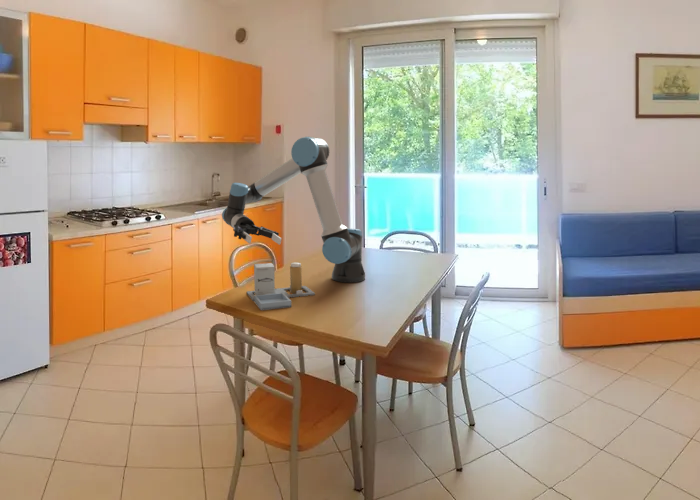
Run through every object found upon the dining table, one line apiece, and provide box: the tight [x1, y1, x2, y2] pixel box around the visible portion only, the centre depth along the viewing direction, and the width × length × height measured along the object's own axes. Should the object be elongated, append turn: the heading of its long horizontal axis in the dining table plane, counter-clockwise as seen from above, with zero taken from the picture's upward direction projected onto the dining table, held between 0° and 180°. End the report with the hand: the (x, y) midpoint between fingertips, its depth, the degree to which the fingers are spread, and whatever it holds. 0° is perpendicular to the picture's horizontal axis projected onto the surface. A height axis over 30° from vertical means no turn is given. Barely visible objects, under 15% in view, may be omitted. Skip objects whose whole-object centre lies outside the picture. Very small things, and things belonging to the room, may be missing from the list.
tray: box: [253, 293, 292, 311], centre depth 194 cm, size 11×11×2 cm
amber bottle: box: [289, 262, 303, 294], centre depth 209 cm, size 5×5×12 cm
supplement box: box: [253, 262, 276, 295], centre depth 204 cm, size 7×7×13 cm
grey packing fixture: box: [246, 285, 316, 302], centre depth 208 cm, size 25×12×2 cm, turn 112°
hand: (265, 240), depth 207 cm, fingers open, 13 cm apart
